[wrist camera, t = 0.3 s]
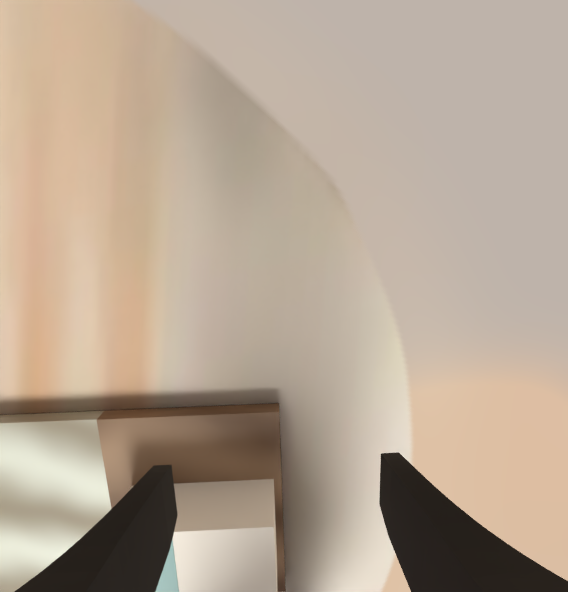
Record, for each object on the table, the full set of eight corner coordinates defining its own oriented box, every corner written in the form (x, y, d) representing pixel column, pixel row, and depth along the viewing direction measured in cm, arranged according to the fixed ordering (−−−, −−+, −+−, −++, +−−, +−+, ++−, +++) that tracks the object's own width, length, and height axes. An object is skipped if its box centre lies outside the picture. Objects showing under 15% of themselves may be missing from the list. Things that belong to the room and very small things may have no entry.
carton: (277, 560, 24) (277, 619, 20) (144, 567, 23) (121, 628, 20) (273, 478, 22) (273, 527, 19) (131, 485, 22) (105, 536, 18)
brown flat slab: (285, 576, 25) (286, 615, 23) (-23, 593, 25) (-56, 634, 22) (278, 403, 22) (279, 426, 20) (-75, 418, 21) (-120, 444, 19)
